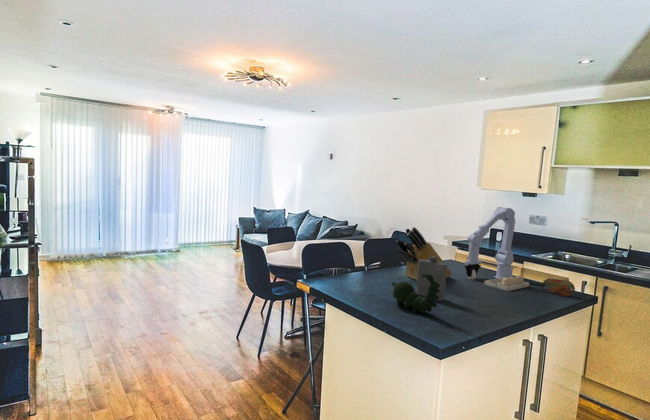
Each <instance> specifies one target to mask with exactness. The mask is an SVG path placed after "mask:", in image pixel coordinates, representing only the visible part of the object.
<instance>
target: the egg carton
mask: <svg viewBox="0 0 650 420" xmlns="http://www.w3.org/2000/svg"><path fill="white" fill-rule="evenodd" d="M504 278H507V277H503V278H493V279H487V280H484V284H483V285H486V286H489V287H493V288H496V289H500V290H504V291H507V292H510V291H514V290H519V289H523V288H527V287H530V282H528V281H524V283H523V284H520V283H517V285H512V284H510V286H509V287H507V286H503V285H502V280H503V279H504ZM508 279H509V278H508Z"/></svg>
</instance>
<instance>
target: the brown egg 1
mask: <svg viewBox="0 0 650 420" xmlns="http://www.w3.org/2000/svg"><path fill="white" fill-rule="evenodd" d="M510 284H511V281H510V279H508V278H504V279H503V280H502V285H503V286H507V287H509V286H510Z"/></svg>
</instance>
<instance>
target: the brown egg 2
mask: <svg viewBox="0 0 650 420" xmlns="http://www.w3.org/2000/svg"><path fill="white" fill-rule="evenodd" d="M515 278H516V279H517V283H520V284H523V283H524V282H525V281H524V280H525V279H524V277H523V276H522V275H516V276H515Z"/></svg>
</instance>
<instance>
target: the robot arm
mask: <svg viewBox="0 0 650 420" xmlns="http://www.w3.org/2000/svg"><path fill="white" fill-rule="evenodd" d="M515 215H516V212H515V210H514V209H513V208H511V207H502V206H499V207H496V209H495V210H493V213H492V215H491V216H490V217H489V218H488V220H487V221H486V222H485V223H484V224H481V225H479V226H478V228H477V229H476V230H475V231H474V232H473V233H471V234H470V235H469V236H468V237H467V242H468V257H467V259H466V261H464V262H463V266H464V268H465V270H466V275H467V276H466V277H467V278H468V277H471V276H472V271H473V270H475V271H476V276H477V274H478V272H479V270H480V268H481V267H482V260H479V255H480V245H481V243H482V242H483V239H484V238H485V236H486V235H488V233H489V232H490V228H492V226H494V225H495V224H496V223H497V222H498V221H499V220H500V221H501V220H502V222H504V226H503V227H504V228H503V233H502V239H501V246H500V248H499V249H498V250H497V252H496V254H495V257H494V259H495V261H496V264H497V266H496V275H494V276H493V278H495V279H497V278H503V277H507V278H510V277H513V270H514V269H513V266H512V265H513V263H514V259H515V258H514V253H513V251H512V250H511V248H512V243H513V238H514V231H515V226H516V225H515V224H516V216H515Z"/></svg>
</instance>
